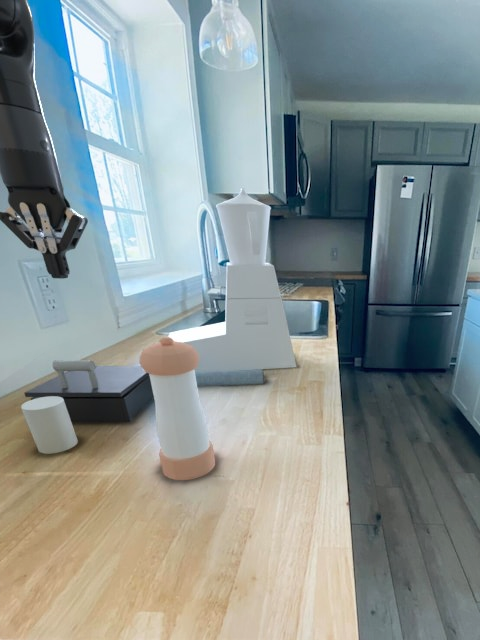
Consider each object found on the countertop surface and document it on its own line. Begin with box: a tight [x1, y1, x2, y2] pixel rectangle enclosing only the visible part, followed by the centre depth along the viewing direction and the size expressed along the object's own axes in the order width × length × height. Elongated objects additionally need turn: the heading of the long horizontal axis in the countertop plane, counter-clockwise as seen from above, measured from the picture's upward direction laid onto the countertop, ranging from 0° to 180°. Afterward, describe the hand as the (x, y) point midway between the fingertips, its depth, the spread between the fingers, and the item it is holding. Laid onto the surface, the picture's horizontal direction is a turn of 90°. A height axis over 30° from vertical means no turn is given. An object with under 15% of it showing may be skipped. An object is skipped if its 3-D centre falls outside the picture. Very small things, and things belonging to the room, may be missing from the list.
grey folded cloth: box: [195, 369, 265, 387], centre depth 84 cm, size 23×7×3 cm, turn 101°
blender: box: [167, 188, 297, 372], centre depth 90 cm, size 33×18×40 cm, turn 104°
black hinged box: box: [30, 376, 154, 423], centre depth 71 cm, size 16×16×5 cm
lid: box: [23, 359, 149, 398], centre depth 68 cm, size 16×16×6 cm
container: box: [20, 396, 79, 455], centre depth 56 cm, size 5×5×8 cm
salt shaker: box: [138, 336, 216, 481], centre depth 49 cm, size 7×7×19 cm
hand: (60, 277), depth 62 cm, fingers closed
